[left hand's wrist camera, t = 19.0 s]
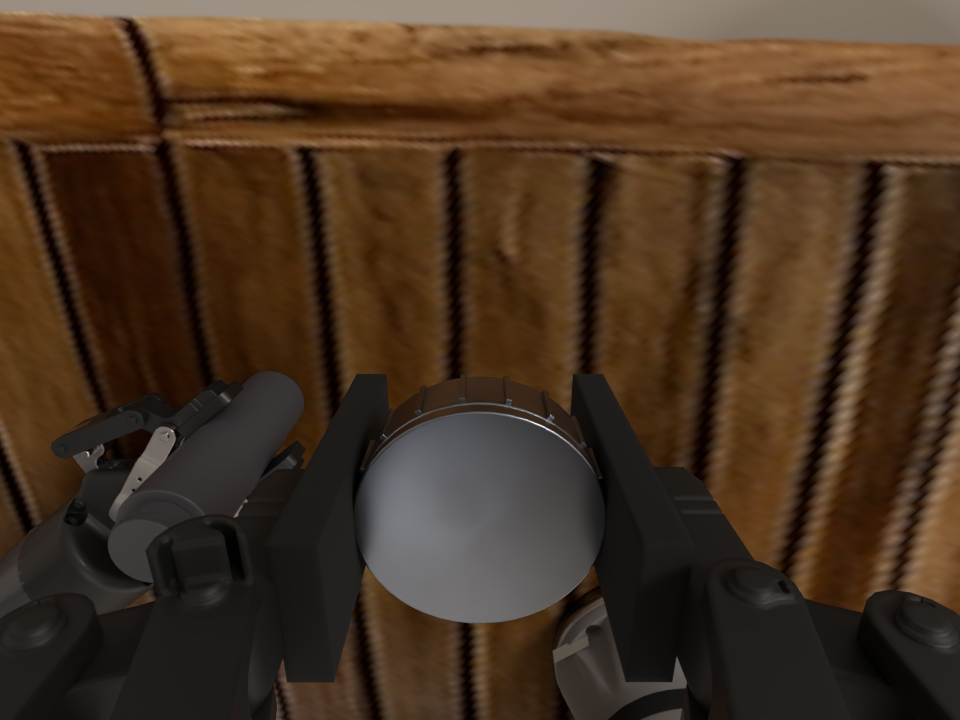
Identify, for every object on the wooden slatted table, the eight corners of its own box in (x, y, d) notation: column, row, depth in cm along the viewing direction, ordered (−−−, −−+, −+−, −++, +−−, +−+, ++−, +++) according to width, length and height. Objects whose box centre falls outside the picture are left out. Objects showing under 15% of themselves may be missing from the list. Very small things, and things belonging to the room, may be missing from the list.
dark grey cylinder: (263, 358, 38) (125, 491, 23) (317, 396, 39) (218, 548, 24) (228, 403, 39) (76, 557, 24) (281, 439, 40) (166, 608, 25)
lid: (351, 548, 13) (333, 605, 11) (386, 349, 11) (369, 383, 9) (558, 585, 13) (569, 644, 12) (622, 397, 11) (645, 437, 10)
